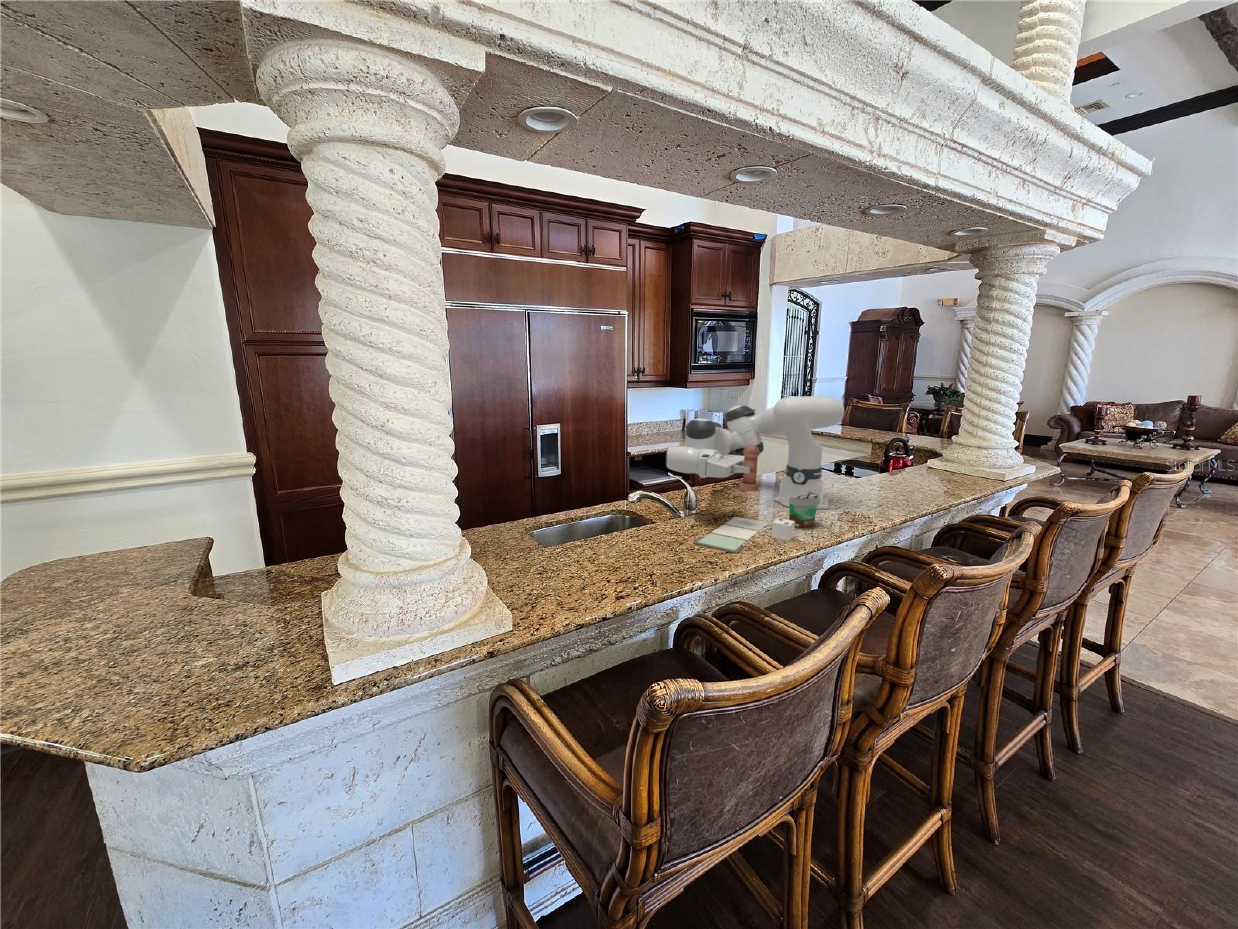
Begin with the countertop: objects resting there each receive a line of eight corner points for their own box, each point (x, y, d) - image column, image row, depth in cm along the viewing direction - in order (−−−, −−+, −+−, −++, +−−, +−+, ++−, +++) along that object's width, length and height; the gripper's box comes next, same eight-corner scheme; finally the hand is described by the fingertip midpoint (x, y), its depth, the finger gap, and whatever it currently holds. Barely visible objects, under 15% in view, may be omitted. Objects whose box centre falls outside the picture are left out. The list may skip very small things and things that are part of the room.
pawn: (742, 485, 159) (745, 442, 156) (761, 488, 156) (764, 444, 153) (736, 489, 154) (738, 444, 151) (755, 492, 151) (758, 446, 148)
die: (776, 534, 149) (777, 517, 148) (793, 537, 146) (794, 520, 145) (771, 538, 145) (772, 522, 144) (788, 542, 142) (790, 525, 141)
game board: (733, 516, 165) (733, 515, 165) (772, 523, 158) (772, 522, 158) (692, 543, 140) (692, 542, 140) (736, 553, 133) (736, 552, 133)
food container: (805, 533, 150) (807, 501, 148) (786, 528, 154) (789, 497, 152) (824, 525, 158) (828, 494, 155) (806, 520, 162) (809, 490, 160)
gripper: (723, 467, 170) (763, 472, 162) (697, 478, 153) (740, 484, 145) (724, 449, 168) (764, 453, 161) (698, 458, 152) (742, 463, 144)
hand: (753, 468), depth 153 cm, fingers closed on pawn, 4 cm apart
